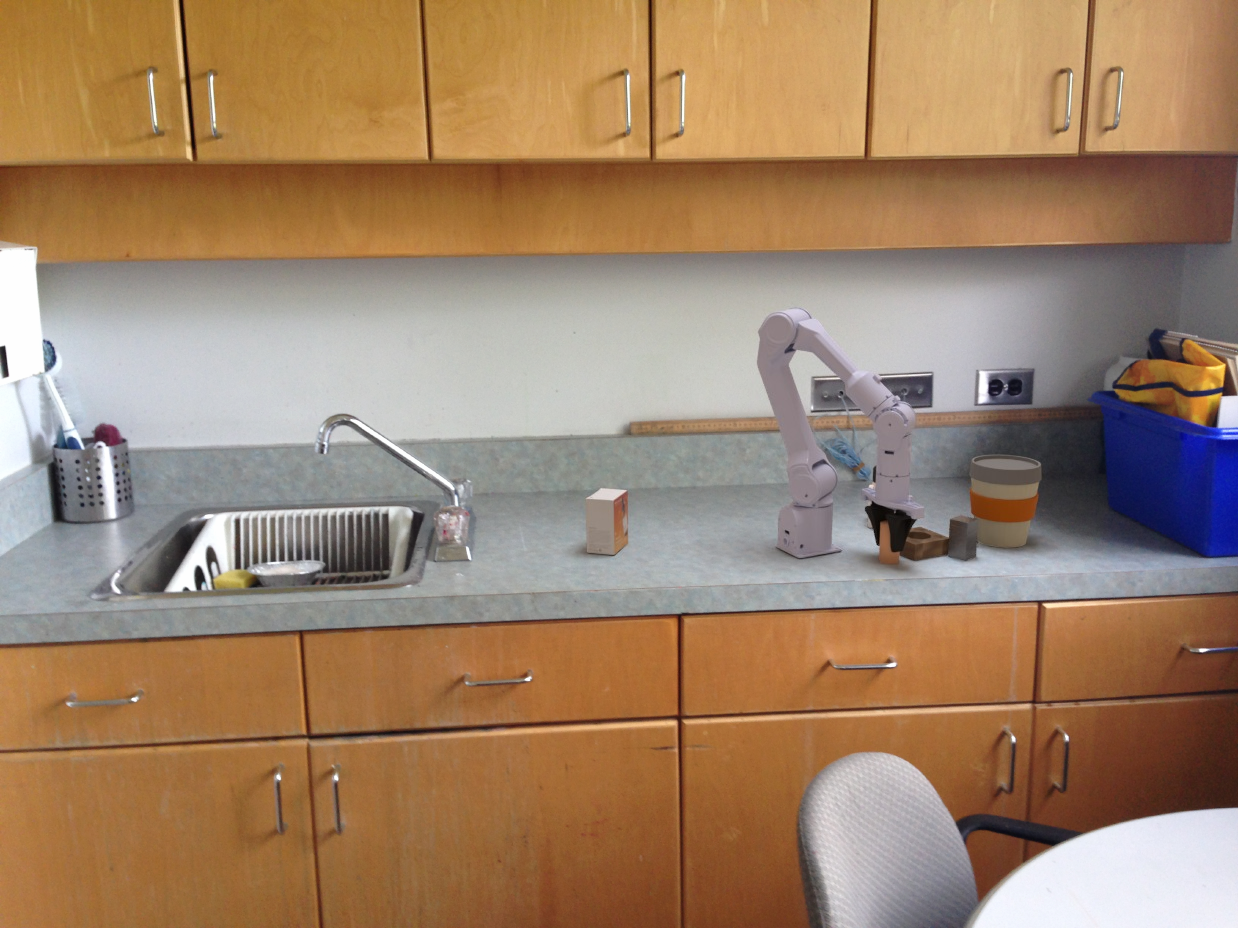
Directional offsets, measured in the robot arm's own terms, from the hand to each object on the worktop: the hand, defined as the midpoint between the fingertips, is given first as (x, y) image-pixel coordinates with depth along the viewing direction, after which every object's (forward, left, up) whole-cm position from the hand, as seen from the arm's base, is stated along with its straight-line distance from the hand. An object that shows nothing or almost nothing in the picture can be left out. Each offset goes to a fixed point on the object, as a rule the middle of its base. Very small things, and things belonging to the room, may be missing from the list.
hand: (889, 548), depth 182 cm
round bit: (0, 0, -2) cm, 2 cm away
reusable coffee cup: (+26, 0, -3) cm, 26 cm away
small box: (-41, +30, -3) cm, 51 cm away
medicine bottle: (+14, +18, -3) cm, 23 cm away
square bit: (+13, -4, -2) cm, 14 cm away
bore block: (+8, +2, -2) cm, 9 cm away
